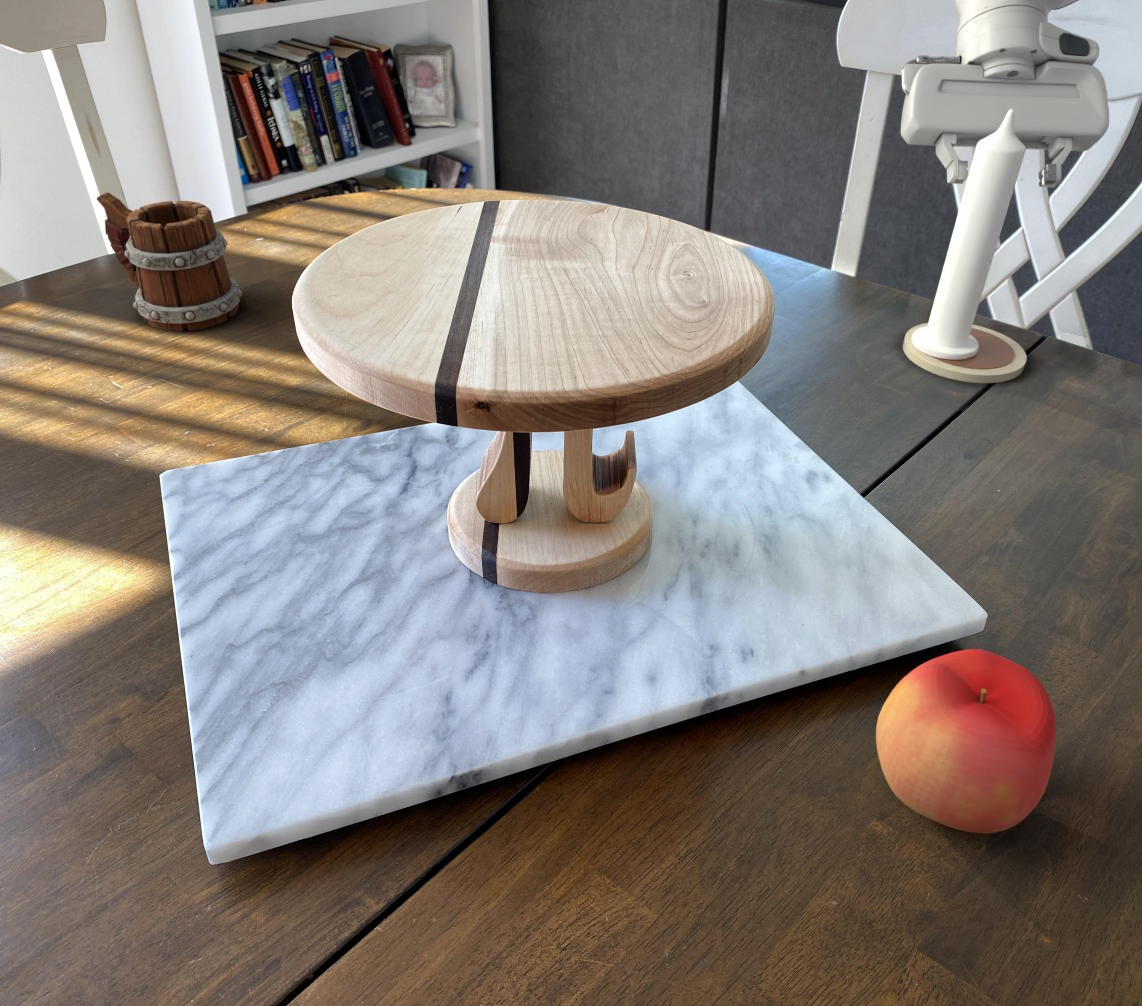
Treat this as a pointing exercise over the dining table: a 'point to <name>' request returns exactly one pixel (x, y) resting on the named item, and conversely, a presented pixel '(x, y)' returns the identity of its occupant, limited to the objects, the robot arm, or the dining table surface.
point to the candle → (973, 245)
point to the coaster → (974, 358)
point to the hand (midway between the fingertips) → (1003, 182)
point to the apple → (968, 741)
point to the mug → (173, 262)
